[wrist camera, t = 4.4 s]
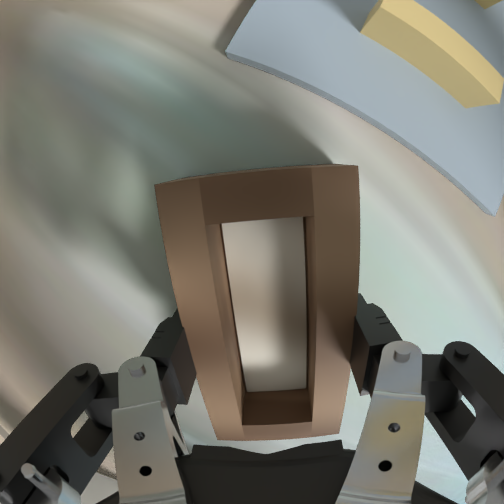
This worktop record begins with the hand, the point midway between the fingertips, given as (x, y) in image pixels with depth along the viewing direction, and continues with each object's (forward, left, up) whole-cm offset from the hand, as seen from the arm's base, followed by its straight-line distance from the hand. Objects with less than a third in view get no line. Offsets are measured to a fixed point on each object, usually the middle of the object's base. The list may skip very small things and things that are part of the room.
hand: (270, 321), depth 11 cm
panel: (+17, -1, -1) cm, 17 cm away
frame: (0, 0, -1) cm, 1 cm away
